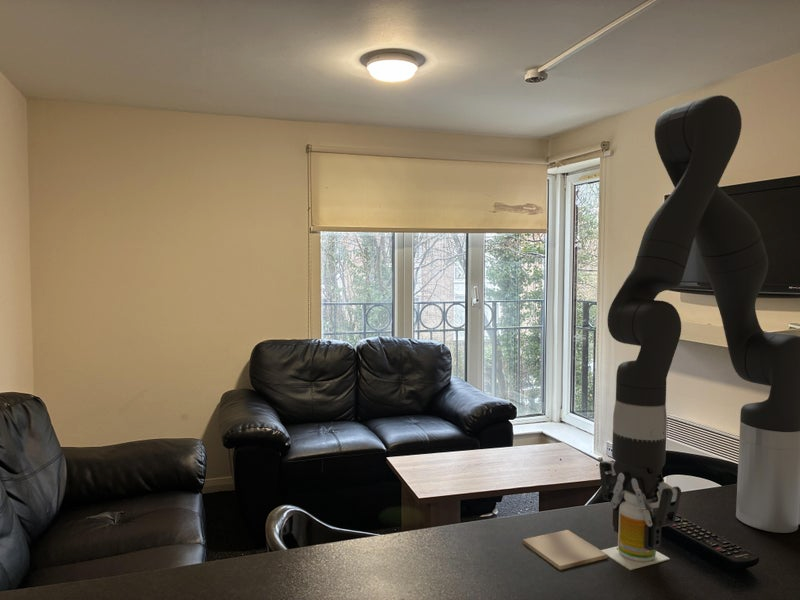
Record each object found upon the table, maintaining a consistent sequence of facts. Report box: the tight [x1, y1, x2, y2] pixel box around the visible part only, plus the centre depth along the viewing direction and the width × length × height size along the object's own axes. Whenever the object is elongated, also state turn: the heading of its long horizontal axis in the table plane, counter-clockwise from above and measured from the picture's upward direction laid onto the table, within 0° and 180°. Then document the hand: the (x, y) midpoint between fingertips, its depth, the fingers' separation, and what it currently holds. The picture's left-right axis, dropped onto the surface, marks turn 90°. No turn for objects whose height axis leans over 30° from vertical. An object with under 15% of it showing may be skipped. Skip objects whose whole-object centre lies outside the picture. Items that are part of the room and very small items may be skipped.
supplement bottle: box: [617, 490, 657, 562], centre depth 88 cm, size 5×5×10 cm
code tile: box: [600, 545, 670, 571], centre depth 89 cm, size 8×6×1 cm
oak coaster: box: [522, 529, 608, 571], centre depth 90 cm, size 9×9×1 cm
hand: (635, 539), depth 89 cm, fingers closed on supplement bottle, 5 cm apart
